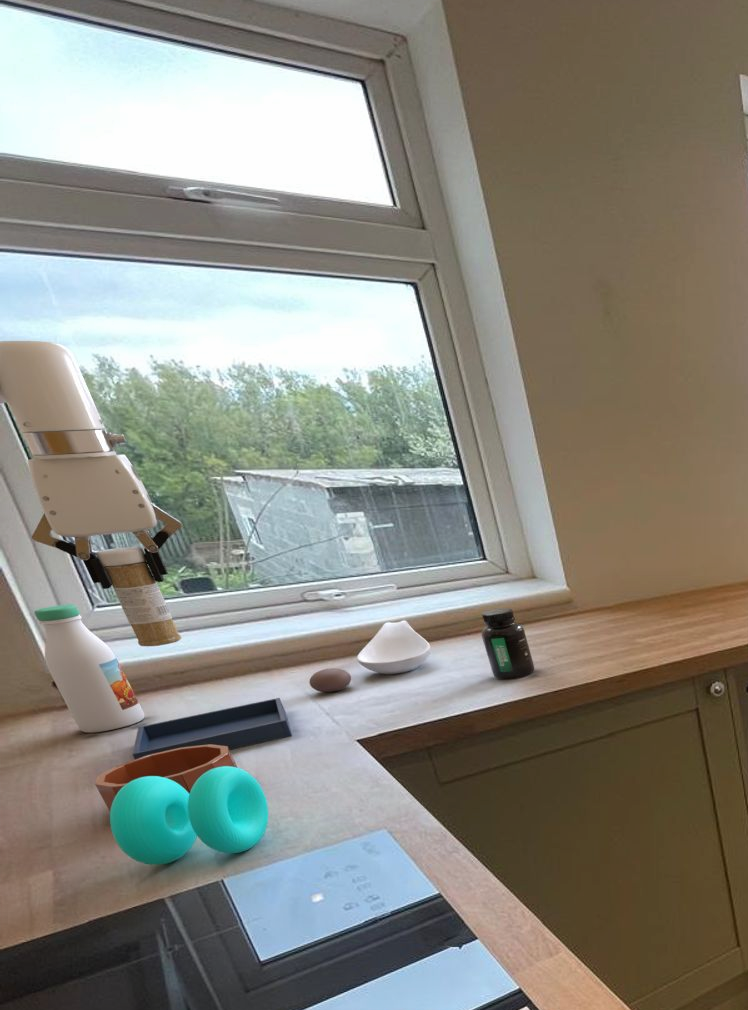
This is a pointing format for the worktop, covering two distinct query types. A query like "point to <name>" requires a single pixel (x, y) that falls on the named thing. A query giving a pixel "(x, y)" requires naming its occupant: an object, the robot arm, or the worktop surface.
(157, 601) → the sprinkles bottle
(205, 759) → the bowl
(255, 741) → the tray
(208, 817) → the donuts
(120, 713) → the milk bottle
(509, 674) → the supplement bottle
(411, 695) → the worktop surface
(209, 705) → the worktop surface
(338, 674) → the egg
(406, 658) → the spoon rest
